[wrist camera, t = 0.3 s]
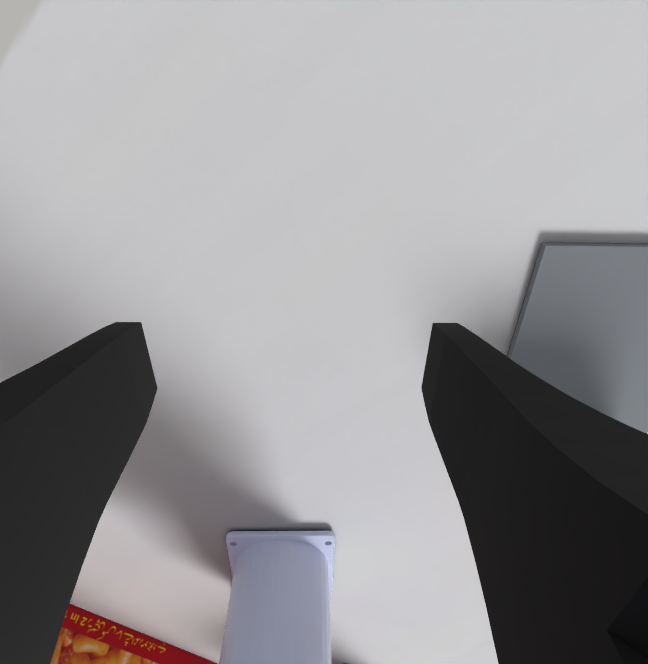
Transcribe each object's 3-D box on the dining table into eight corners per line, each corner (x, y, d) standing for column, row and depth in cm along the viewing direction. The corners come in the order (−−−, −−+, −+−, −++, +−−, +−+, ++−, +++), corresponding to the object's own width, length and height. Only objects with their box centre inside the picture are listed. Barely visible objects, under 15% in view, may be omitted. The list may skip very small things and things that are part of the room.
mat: (606, 491, 29) (609, 496, 29) (465, 491, 29) (467, 496, 29) (747, 245, 20) (755, 248, 19) (542, 242, 20) (546, 245, 19)
